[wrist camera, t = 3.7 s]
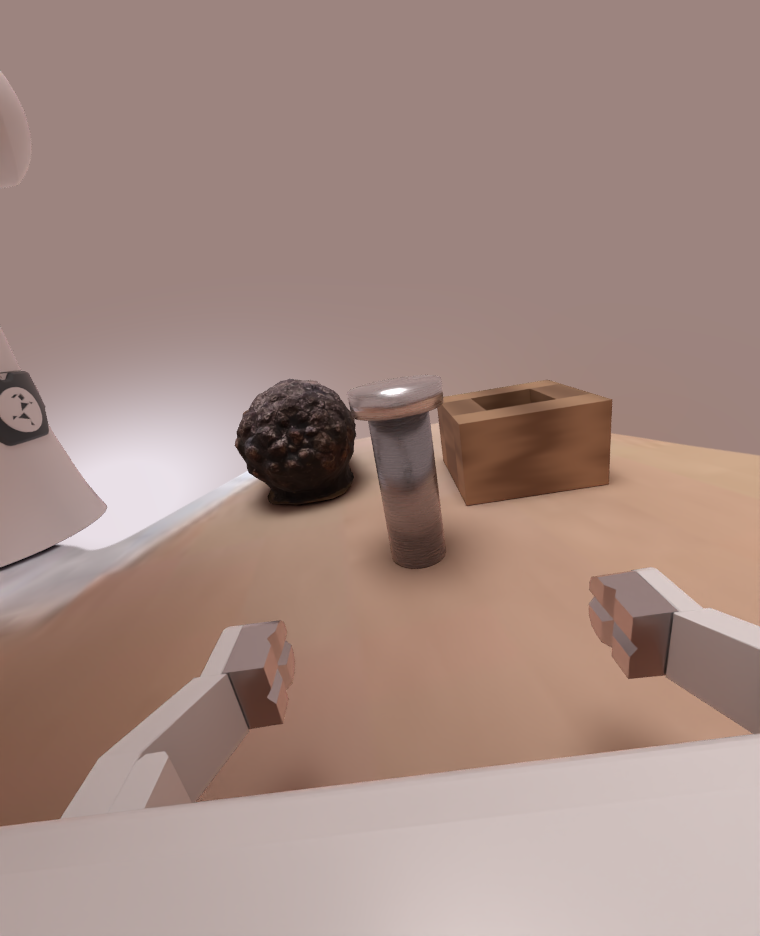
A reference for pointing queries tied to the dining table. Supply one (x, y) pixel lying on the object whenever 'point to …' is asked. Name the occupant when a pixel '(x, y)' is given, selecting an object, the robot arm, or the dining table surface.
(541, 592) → the dining table surface
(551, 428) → the socket block
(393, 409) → the pin
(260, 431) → the pine cone
